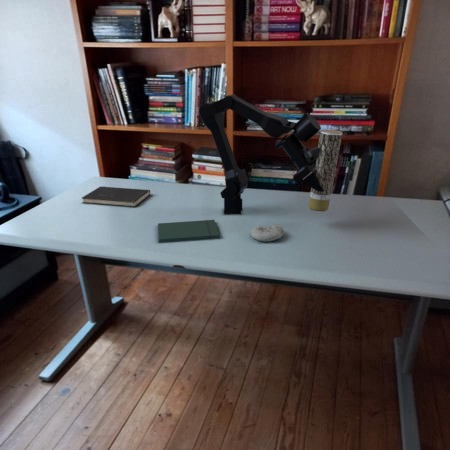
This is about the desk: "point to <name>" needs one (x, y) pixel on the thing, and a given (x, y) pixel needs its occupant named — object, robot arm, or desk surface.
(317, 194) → the paper tube
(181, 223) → the notebook
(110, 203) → the hardcover book
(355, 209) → the desk surface
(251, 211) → the desk surface
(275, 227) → the fossil
